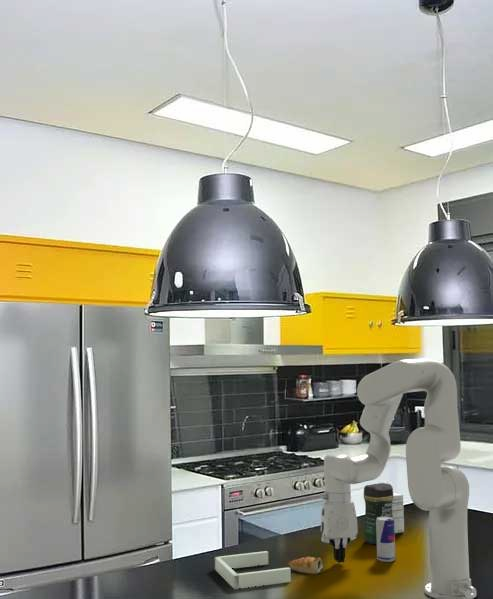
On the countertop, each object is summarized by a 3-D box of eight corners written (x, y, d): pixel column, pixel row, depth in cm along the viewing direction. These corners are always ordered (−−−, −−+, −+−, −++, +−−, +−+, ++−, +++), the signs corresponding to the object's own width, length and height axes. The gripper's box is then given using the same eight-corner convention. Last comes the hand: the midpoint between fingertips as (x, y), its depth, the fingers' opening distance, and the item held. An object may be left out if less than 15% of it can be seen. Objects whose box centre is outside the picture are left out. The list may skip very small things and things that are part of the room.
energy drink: (395, 562, 206) (394, 520, 207) (377, 561, 207) (375, 520, 208) (395, 557, 211) (394, 516, 212) (377, 556, 212) (376, 516, 213)
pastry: (286, 572, 200) (285, 558, 200) (293, 565, 206) (292, 552, 206) (318, 575, 197) (317, 561, 197) (324, 568, 203) (323, 554, 203)
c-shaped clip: (290, 581, 191) (290, 568, 191) (234, 589, 185) (234, 575, 186) (267, 563, 208) (266, 551, 208) (214, 569, 203) (214, 557, 203)
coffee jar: (377, 547, 223) (375, 487, 224) (360, 541, 229) (358, 483, 231) (399, 542, 228) (397, 483, 230) (382, 536, 235) (380, 480, 236)
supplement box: (374, 530, 244) (373, 492, 245) (391, 527, 247) (390, 490, 248) (387, 534, 238) (386, 496, 238) (405, 532, 241) (403, 494, 242)
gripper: (319, 501, 201) (321, 567, 200) (366, 497, 206) (368, 561, 204) (309, 496, 208) (310, 560, 207) (354, 492, 213) (356, 555, 211)
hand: (339, 561), depth 205 cm, fingers closed
